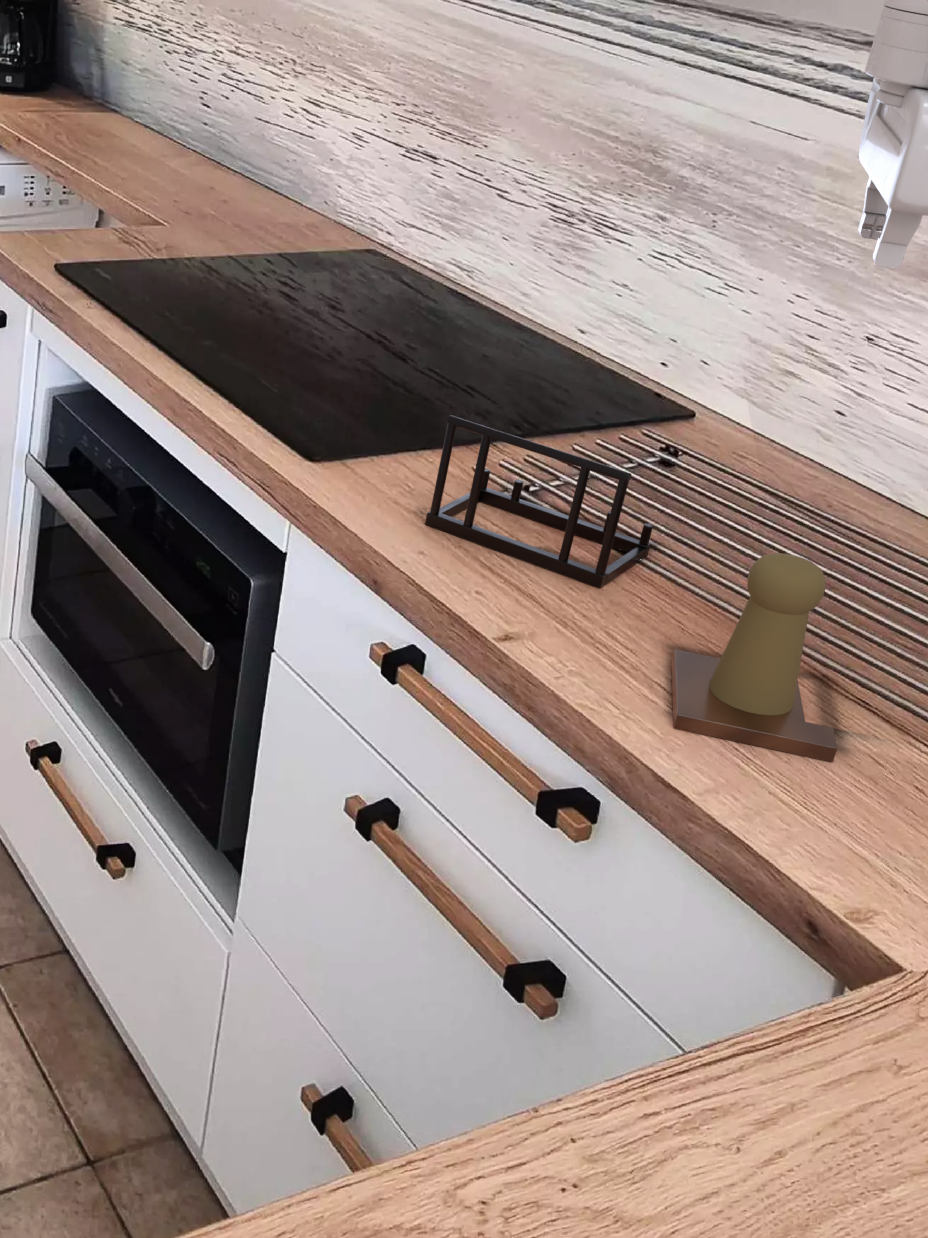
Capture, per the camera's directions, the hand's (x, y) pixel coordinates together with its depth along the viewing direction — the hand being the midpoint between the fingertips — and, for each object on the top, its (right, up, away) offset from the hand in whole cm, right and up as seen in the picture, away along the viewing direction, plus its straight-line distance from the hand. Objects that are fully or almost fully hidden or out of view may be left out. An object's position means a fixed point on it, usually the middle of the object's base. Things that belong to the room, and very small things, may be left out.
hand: (877, 251), depth 124 cm
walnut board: (-10, -34, 0) cm, 35 cm away
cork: (-10, -33, 0) cm, 35 cm away
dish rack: (-19, -20, +25) cm, 37 cm away
